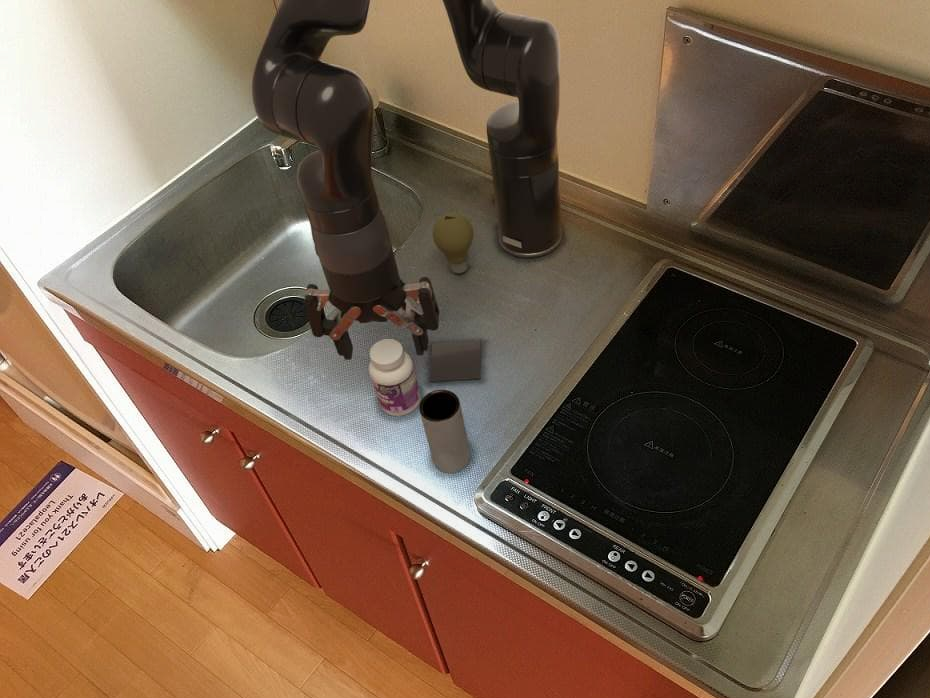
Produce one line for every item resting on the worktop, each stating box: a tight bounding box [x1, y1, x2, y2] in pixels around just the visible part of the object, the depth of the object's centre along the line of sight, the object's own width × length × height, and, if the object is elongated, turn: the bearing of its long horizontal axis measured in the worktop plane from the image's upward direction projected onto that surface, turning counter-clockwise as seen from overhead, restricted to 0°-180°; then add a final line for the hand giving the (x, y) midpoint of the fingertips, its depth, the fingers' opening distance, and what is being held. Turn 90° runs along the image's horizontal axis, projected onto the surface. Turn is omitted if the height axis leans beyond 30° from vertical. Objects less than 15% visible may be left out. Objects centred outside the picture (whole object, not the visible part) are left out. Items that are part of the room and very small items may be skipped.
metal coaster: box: [429, 339, 482, 383], centre depth 107 cm, size 6×6×1 cm
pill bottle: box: [368, 338, 422, 417], centre depth 100 cm, size 5×5×10 cm
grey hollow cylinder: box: [418, 389, 472, 474], centre depth 94 cm, size 4×4×10 cm
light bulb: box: [432, 211, 474, 274], centre depth 114 cm, size 6×6×10 cm
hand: (384, 352), depth 96 cm, fingers open, 8 cm apart
